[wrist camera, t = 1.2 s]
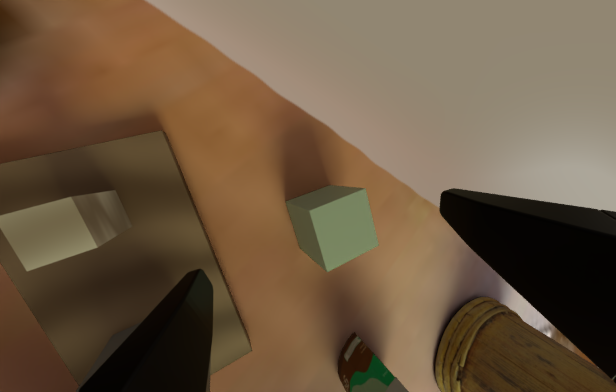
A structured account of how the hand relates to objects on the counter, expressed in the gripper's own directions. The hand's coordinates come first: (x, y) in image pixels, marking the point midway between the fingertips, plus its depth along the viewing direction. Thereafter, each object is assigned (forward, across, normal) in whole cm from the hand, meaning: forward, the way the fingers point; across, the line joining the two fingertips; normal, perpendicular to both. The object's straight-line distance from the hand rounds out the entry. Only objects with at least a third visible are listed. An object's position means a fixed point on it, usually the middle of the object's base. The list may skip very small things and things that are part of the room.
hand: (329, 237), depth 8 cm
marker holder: (+11, +15, +7) cm, 20 cm away
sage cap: (+15, -1, +9) cm, 17 cm away
